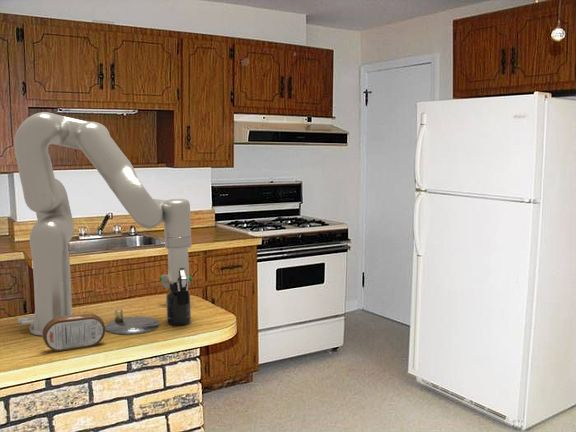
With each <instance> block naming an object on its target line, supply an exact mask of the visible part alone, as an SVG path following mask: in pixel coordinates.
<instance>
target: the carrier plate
mask: <svg viewBox="0 0 576 432" xmlns="http://www.w3.org/2000/svg"><path fill="white" fill-rule="evenodd" d="M113 314H114V319H113V320H111V321H109V322H107V323H106V324H104V325H105V332H107V333H110V334H114V335H121V336H123V335H124V336H128V335H129V336H131V335H141V334H145V333H149V332H152V331H156V330H157V329H158V328H159V327H160V320H158V319H157V318H153V317H149V316H128V317H127V316H126V317H124V310H123V309H121V308H120V309H119V308H118V309H115V310H114V312H113Z"/></svg>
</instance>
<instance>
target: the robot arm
mask: <svg viewBox="0 0 576 432" xmlns="http://www.w3.org/2000/svg"><path fill="white" fill-rule="evenodd" d="M50 145H56V146H61V147H66V148H69V149H75V150H81V152H82V153H83V154H84V156H85V157H86V158H87V159H88V161H89V162H90V163H91V164H92V165H93V167H94V168H95V169H96V170H97V172H98V174H99V175H100V176H101V177H102V178H103V180H104V181H105V183H106V184H107V186H108V187H109V189H110V190H111V191H112V193H113V194H114V196H115V197H116V198H117V200H118V201H119V202H120V204H121V205H122V207H123V208H124V209H125V210H126V212H127V213H128V214H129V215H130V216H131V218H132V219H133V220H134V222H135V223H136V224H137V225H138V226H140V227H141V228H143V229H154V228H155V227H158V225H160V224H163V230H164V231H163V232H164V248H165V249H166V250H167V274H168V278H169V279H168V280H169V282H170V281H171V283H173V284H174V282H177V288H178V291H177V304H178V305H186V304H189V294H190V293H189V294H188V292H189V288H188V287H189V286H188V285H187V282H188V281H189V276H190V265H189V262H190V261H189V249H190V248H191V247H192V227H191V226H192V225H191V224H192V223H191V204H190V201H189V200H188V199H185V198H172V199H157V198H153V197H152V196H151V194H150V193H149V191H147V190H146V188H145V186H144V185H143V184H142V182H141V180H140V179H139V178H138V176H137V173H136V170H135V168H134V165H132V162H131V161H130V160H129V159H128V158H127V156H126V155H125V154H124V152H123V151H122V150H121V148H120V147H119V146H118V144H117V143H116V141H115V140H114V139H113V137H112V136H111V134H110V132H109V130H108V128H107V127H106V126H105V125H103V124H102V123H99V122H96V121H89V120H83V119H82V120H81V119H78V118H74V117H69V116H64V115H60V114H56V113H52V112H47V111H44V112H43V111H42V112H36V113H34V114H32V115H30V116H29V117H27V118H26V119H25V120H23V122H22V123H21V124H20V125H19V126H18V128H17V130H16V133H15V135H14V141H13V149H14V154H15V160H16V165H17V168H18V175H19V180H20V184H21V188H22V193H23V198H24V202H25V204H26V206H27V208H28V209H29V210H31V211H32V212H34V213H35V214H36V220H37V222H36V223H35V224H34V225H33V226H32V228H31V231H30V233H29V246H30V252H31V262H32V274H33V275H32V277H33V291H34V295H33V296H34V314H32V315H30V316H21V317H17V323H18V325H21V326H30V327H29V332H30V333H31V334H32V335H35V336H42V337H43V329H44V327H45V325H46V324H47V323H48V322H49V321H50V320H52V319H54V318H57V317H64V316H73V307H72V285H71V284H72V282H71V281H72V280H71V263H70V262H71V261H70V254H69V242H70V241H71V240H72V238H74V237H73V236H74V235H75V225H74V221H73V215H72V210H71V206H70V202H69V197H68V193H67V190H66V188H65V186H64V184H63V183H62V182H61V181H60V180H58V179H57V178H56V177H55V174H54V169H53V163H52V160H51V156H50V154H49V146H50ZM179 284H180V285H179Z"/></svg>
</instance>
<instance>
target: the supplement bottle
mask: <svg viewBox="0 0 576 432" xmlns="http://www.w3.org/2000/svg"><path fill="white" fill-rule="evenodd" d="M179 285H180V284H179ZM169 287H170V288H168V289H169V292H167V293H166V297H165V299H166V301H165V303H166V321H167V324H168V325H169V326H172V327H183V326H186V325H187V326H188V325H189V324H190V323H191V322H192V317H191V316H192V315H191V314H192V313H191V294H190V292H189V291H188V294H189V304H186V305H178V304H177V291H178V288H177V282H174V284H173V283H170V284H169Z"/></svg>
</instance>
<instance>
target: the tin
mask: <svg viewBox="0 0 576 432" xmlns="http://www.w3.org/2000/svg"><path fill="white" fill-rule="evenodd" d="M105 325H106V324H105V322H104V320H103V318H102V317H100V316H99V315H98V314H94V313H84V314H75V315H73V314H72V316H64V317H57V318H54V319H52V320H50V321H49V322H48V323H47V324H46V325H45V327H44V329H43V336H42V339H43V342H44V343H45V345H46V346H47V347H48V348H49V349H50V350H52V351H55V352H63V351H65V352H66V351H70V350H77V349H84V348H85V349H86V348H91V347H95V346H96V345H98V344H100V343H101V341H102V340H103V339H104V337H105V335H106V330H105Z"/></svg>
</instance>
